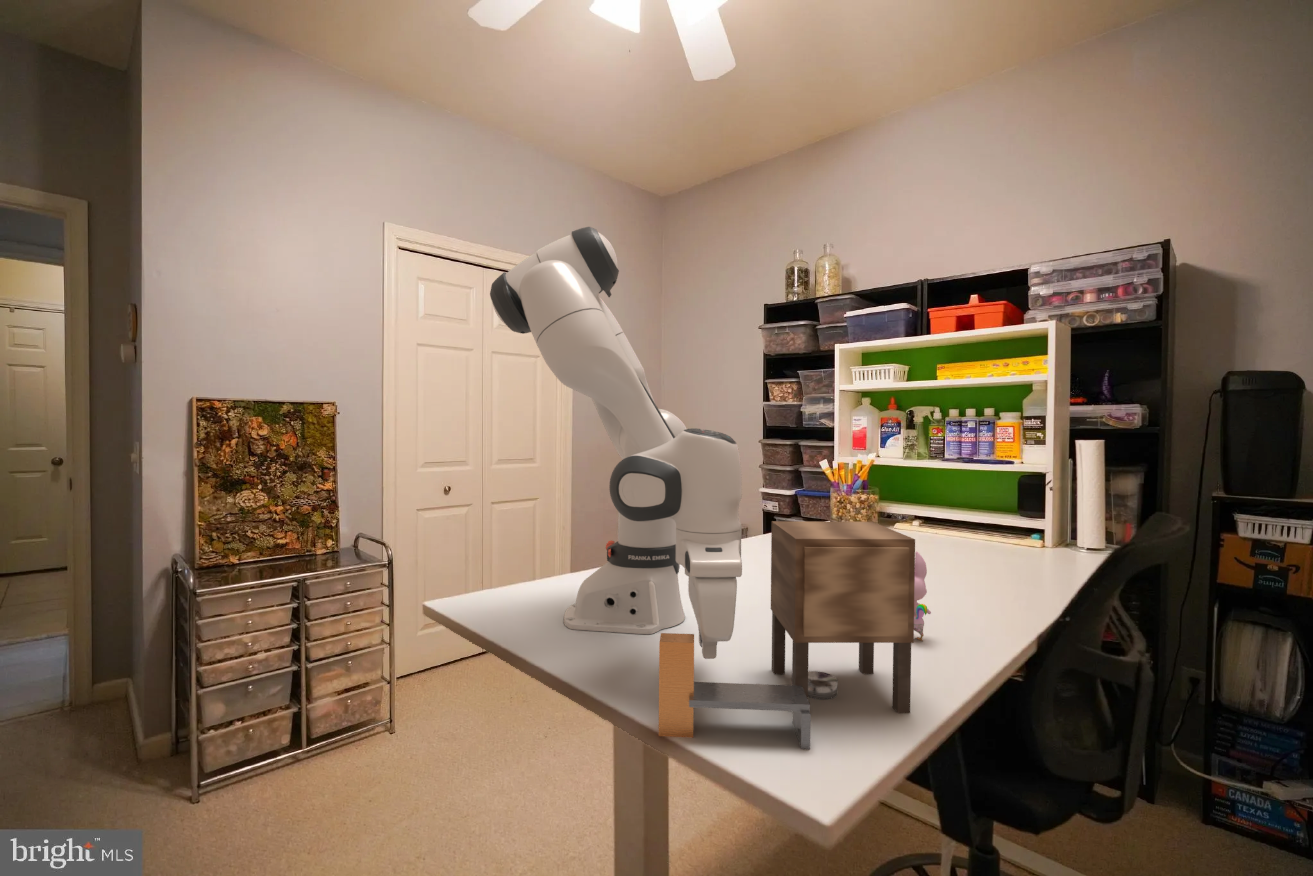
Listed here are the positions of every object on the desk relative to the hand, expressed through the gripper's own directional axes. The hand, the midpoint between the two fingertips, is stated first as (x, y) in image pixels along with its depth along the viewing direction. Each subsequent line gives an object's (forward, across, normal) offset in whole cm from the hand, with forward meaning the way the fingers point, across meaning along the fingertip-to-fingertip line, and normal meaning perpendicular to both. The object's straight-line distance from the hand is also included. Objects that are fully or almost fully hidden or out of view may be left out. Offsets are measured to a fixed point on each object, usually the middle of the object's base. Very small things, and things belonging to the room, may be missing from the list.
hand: (707, 651), depth 82 cm
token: (+6, 0, +15) cm, 16 cm away
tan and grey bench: (+6, +10, -5) cm, 13 cm away
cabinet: (+6, 0, +18) cm, 19 cm away
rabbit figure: (+6, -18, +37) cm, 42 cm away
